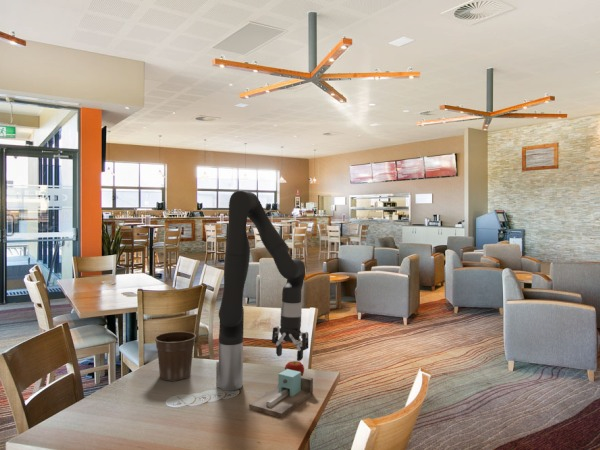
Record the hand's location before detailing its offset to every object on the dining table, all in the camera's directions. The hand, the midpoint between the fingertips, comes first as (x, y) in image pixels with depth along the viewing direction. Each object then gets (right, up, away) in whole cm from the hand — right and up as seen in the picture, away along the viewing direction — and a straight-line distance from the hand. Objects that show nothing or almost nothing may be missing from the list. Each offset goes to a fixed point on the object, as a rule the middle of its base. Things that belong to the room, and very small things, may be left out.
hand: (289, 358), depth 161 cm
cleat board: (-2, -14, -4) cm, 15 cm away
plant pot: (-47, -13, +19) cm, 52 cm away
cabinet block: (0, -13, +1) cm, 13 cm away
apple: (+2, -14, +16) cm, 21 cm away
